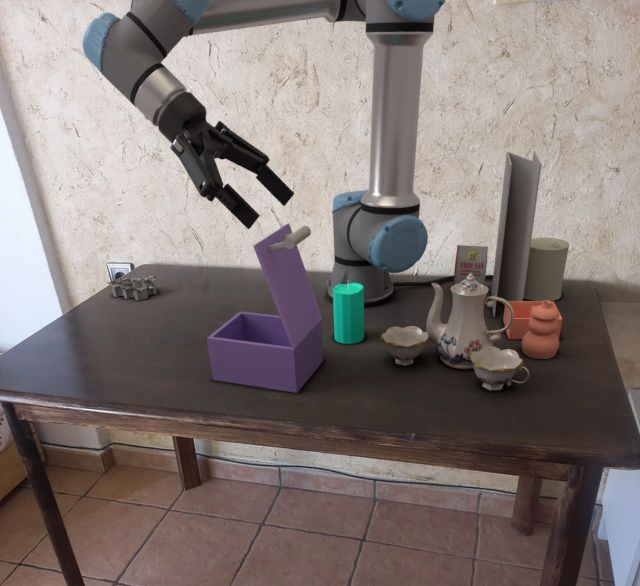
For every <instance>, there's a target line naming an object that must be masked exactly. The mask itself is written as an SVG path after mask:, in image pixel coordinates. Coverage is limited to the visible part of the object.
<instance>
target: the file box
mask: <svg viewBox="0 0 640 586" xmlns="http://www.w3.org/2000/svg"><path fill="white" fill-rule="evenodd" d="M322 332H323V331H322V319H321V320H320V321H319V322H318V323H317V324H316V326H315V327H314V328H313V329H312V330H311V331H310V332H309V333H308V334H307V335H306V336H305V337H304V338H303V339H302V340H301V341H300V342H299V344H298V345H297V346H296V347H294V348H292V346H291V344H290V341H289V338H288V336H287V333H286V330H285V328H284V325H283V323H282V320H281V317H280V315H275V314H267V313H260V312H259V313H258V312H250V311H238V312H237V313H236V314H234V316H232V317H231V318H230V319H229V320H228V321H226V322H225V323H224V324H223V325H221V326H219V327H218V328H217V329H216V330H215V331H214V332H213V333H211V334H210V335H209V336H208V337H206V344H207V349H208V355H209V363H210V369H211V374H212V380H213V381H218V382H223V383H229V384H230V383H231V384H237V385H243V386H249V387H250V386H251V387H256V388H263V389H269V390H275V391H281V392H282V391H283V392H287V393H288V392H289V393H294V394H297V393H298V392H300V390H301V389H302V388H303V386H305V384H306V383H307V382H308V380H309V379H310V378H311V377H312V376H313V375H314V373H315V372H316V371H317V369H318V368H319V367H320V366H321V365H322V363H323V362H324V354H323V353H324V352H323V351H324V350H323V336H322V335H323V333H322Z"/></svg>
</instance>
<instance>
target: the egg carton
mask: <svg viewBox="0 0 640 586" xmlns="http://www.w3.org/2000/svg"><path fill="white" fill-rule="evenodd" d="M156 280H157V276H155V275H147V276H146V277H141V278H139V277H132V278H129V277H127V276H126V277H125V276H123V278H121V277H119V278H118V279H115V280H113V279H112V280H111V281H106V282H107V284H108V285H110V286H111V287H110V288H111V292H112V296H113V297H114V298H118V297H123V298H124V299H127V300H128V299H132V298H133V299H135V301H141V300H146V299H148V298H149V296H151V295H156V294H157V293H158V292H157V287H156V283H155V281H156Z"/></svg>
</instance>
